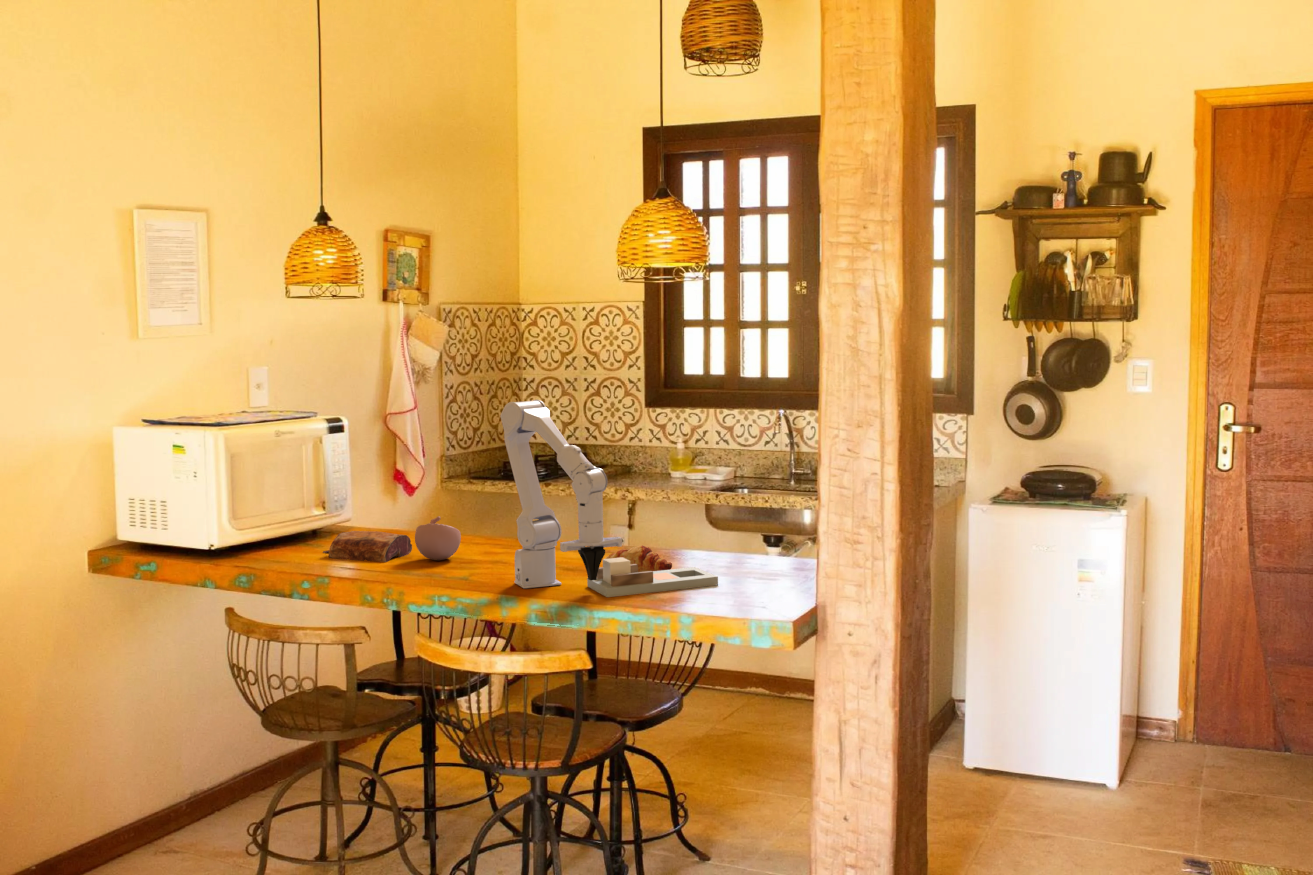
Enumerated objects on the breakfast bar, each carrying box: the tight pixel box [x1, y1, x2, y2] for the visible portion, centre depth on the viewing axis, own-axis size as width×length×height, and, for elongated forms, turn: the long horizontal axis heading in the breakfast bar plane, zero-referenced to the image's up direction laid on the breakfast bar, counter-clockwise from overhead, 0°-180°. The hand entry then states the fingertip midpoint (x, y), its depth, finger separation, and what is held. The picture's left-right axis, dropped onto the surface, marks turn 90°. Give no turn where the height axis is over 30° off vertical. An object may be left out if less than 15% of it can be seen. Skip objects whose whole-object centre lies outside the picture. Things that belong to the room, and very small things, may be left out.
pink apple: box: [414, 516, 462, 561], centre depth 339 cm, size 12×12×11 cm
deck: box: [586, 566, 719, 598], centre depth 302 cm, size 28×13×2 cm, turn 113°
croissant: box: [604, 545, 673, 572], centre depth 320 cm, size 21×10×8 cm, turn 53°
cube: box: [602, 557, 631, 584], centre depth 298 cm, size 5×5×5 cm
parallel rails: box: [597, 564, 653, 587], centre depth 299 cm, size 10×11×2 cm
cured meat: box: [322, 530, 413, 563], centre depth 350 cm, size 18×25×7 cm
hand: (592, 579), depth 296 cm, fingers closed
